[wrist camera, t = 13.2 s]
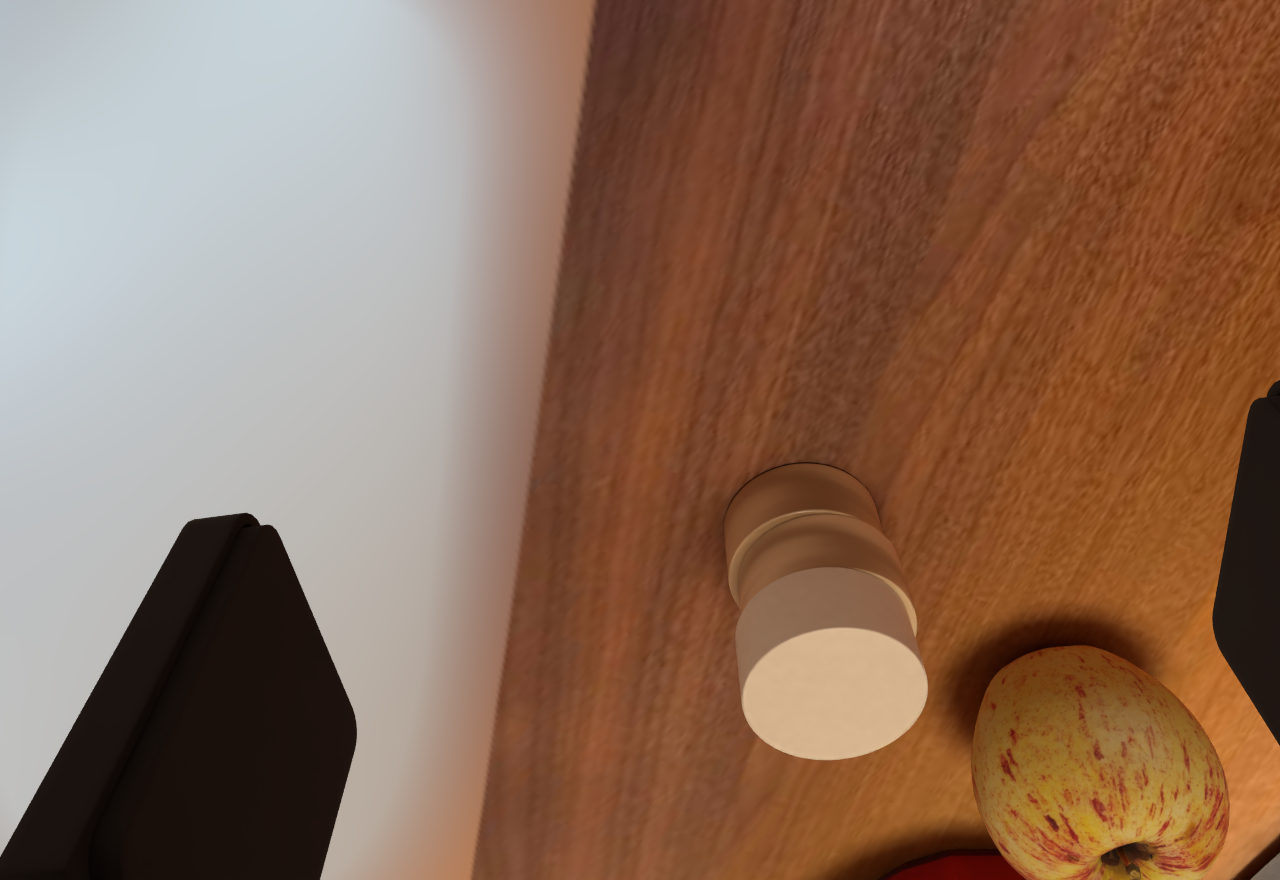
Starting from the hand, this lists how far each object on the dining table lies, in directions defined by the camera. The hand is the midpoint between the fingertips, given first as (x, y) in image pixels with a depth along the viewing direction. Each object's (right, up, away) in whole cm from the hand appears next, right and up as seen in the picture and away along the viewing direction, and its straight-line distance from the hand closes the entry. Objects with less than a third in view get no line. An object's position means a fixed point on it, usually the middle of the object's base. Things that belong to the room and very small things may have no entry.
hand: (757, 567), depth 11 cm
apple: (+17, -9, +37) cm, 41 cm away
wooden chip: (+5, -5, +27) cm, 28 cm away
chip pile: (+5, -2, +32) cm, 33 cm away
